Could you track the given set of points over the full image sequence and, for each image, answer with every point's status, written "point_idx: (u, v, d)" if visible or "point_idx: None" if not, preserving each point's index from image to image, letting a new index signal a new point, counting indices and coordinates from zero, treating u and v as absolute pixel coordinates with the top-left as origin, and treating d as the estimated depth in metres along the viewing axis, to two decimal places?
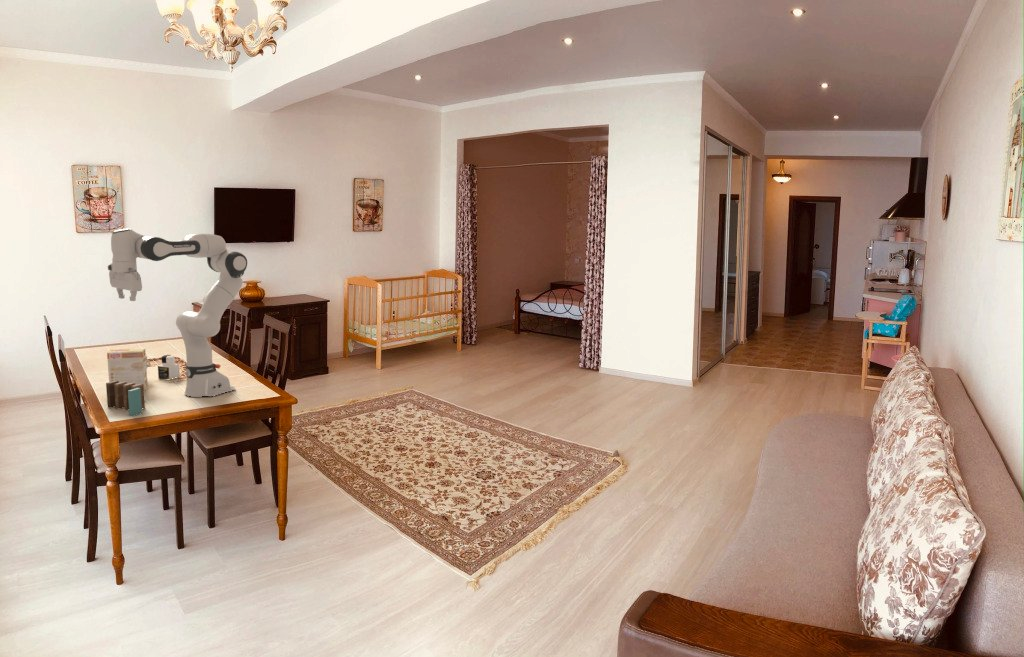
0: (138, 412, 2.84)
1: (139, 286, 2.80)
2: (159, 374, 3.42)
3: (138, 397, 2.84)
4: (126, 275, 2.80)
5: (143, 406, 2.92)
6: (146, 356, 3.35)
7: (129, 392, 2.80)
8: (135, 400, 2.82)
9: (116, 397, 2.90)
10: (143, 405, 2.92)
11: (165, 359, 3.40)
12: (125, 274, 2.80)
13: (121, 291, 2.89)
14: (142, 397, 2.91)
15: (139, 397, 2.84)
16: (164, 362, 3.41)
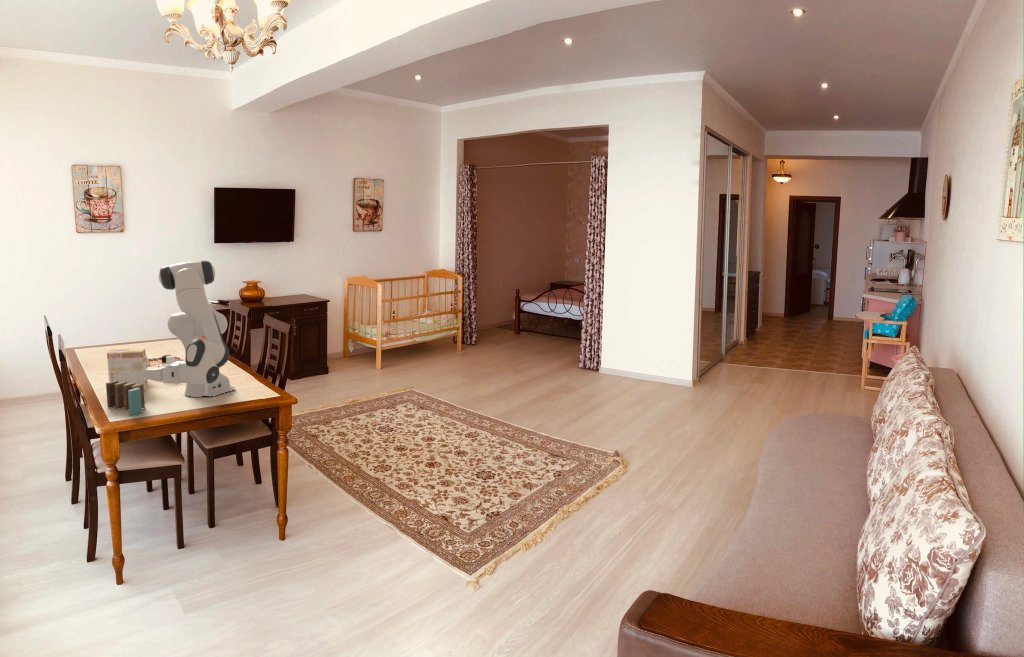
0: (138, 412, 2.84)
1: None
2: None
3: (138, 397, 2.84)
4: None
5: (143, 406, 2.92)
6: (146, 356, 3.35)
7: (129, 392, 2.80)
8: (135, 400, 2.82)
9: (116, 397, 2.90)
10: (143, 405, 2.92)
11: (165, 359, 3.40)
12: None
13: None
14: (142, 397, 2.91)
15: (139, 397, 2.84)
16: (164, 362, 3.41)
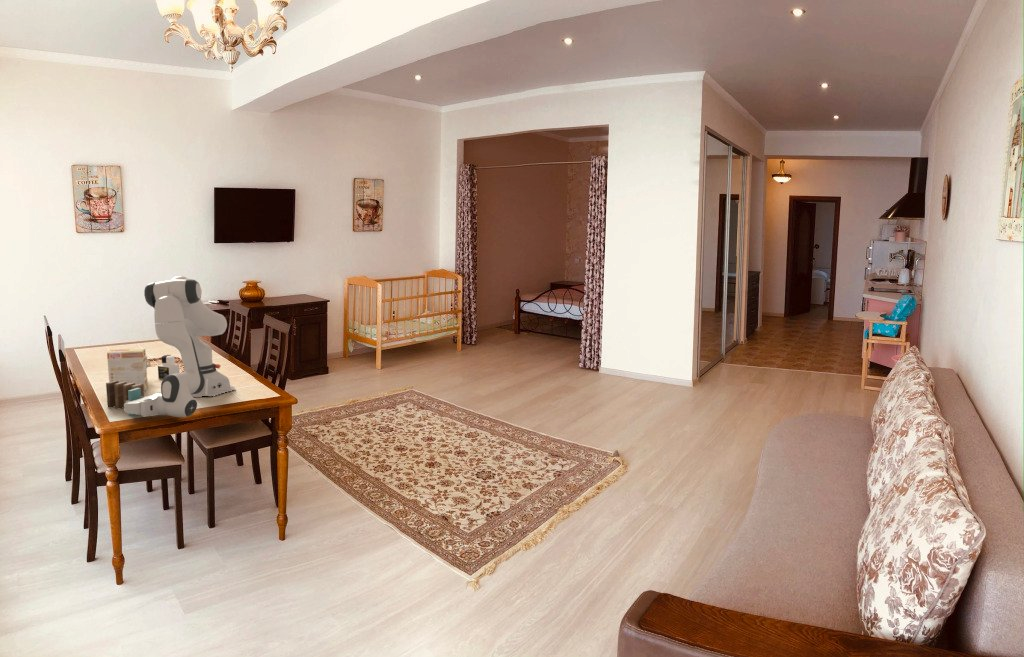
0: None
1: None
2: (159, 374, 3.42)
3: (138, 397, 2.84)
4: None
5: None
6: (146, 356, 3.35)
7: (129, 392, 2.80)
8: None
9: (116, 397, 2.90)
10: None
11: (165, 359, 3.40)
12: None
13: None
14: None
15: (139, 397, 2.84)
16: (164, 362, 3.41)
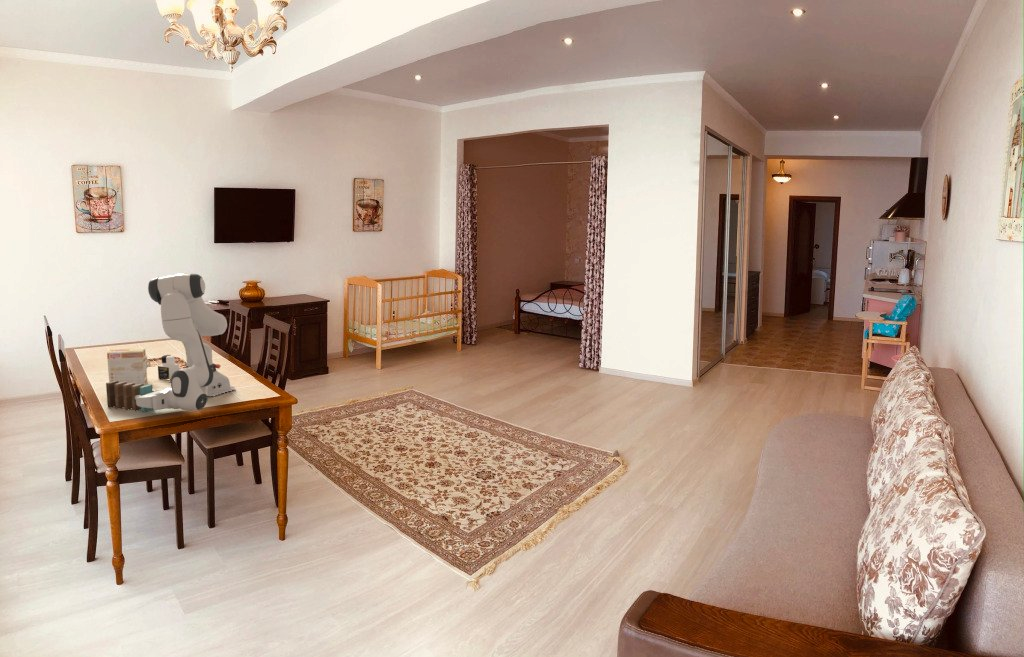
0: (150, 408, 2.90)
1: None
2: (159, 374, 3.42)
3: None
4: None
5: None
6: (146, 356, 3.35)
7: (141, 388, 2.86)
8: None
9: (116, 397, 2.90)
10: None
11: (165, 359, 3.40)
12: None
13: None
14: None
15: None
16: (164, 362, 3.41)
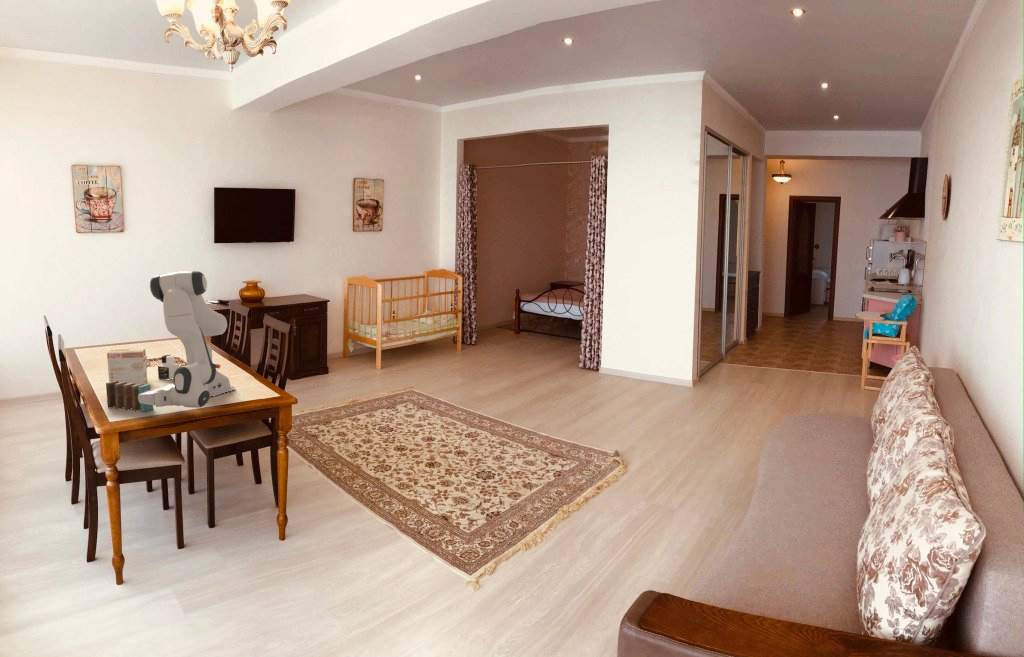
0: (149, 408, 2.90)
1: None
2: (159, 374, 3.42)
3: None
4: None
5: None
6: (146, 356, 3.35)
7: (139, 388, 2.86)
8: None
9: (116, 397, 2.90)
10: None
11: (165, 359, 3.40)
12: None
13: None
14: None
15: None
16: (164, 362, 3.41)
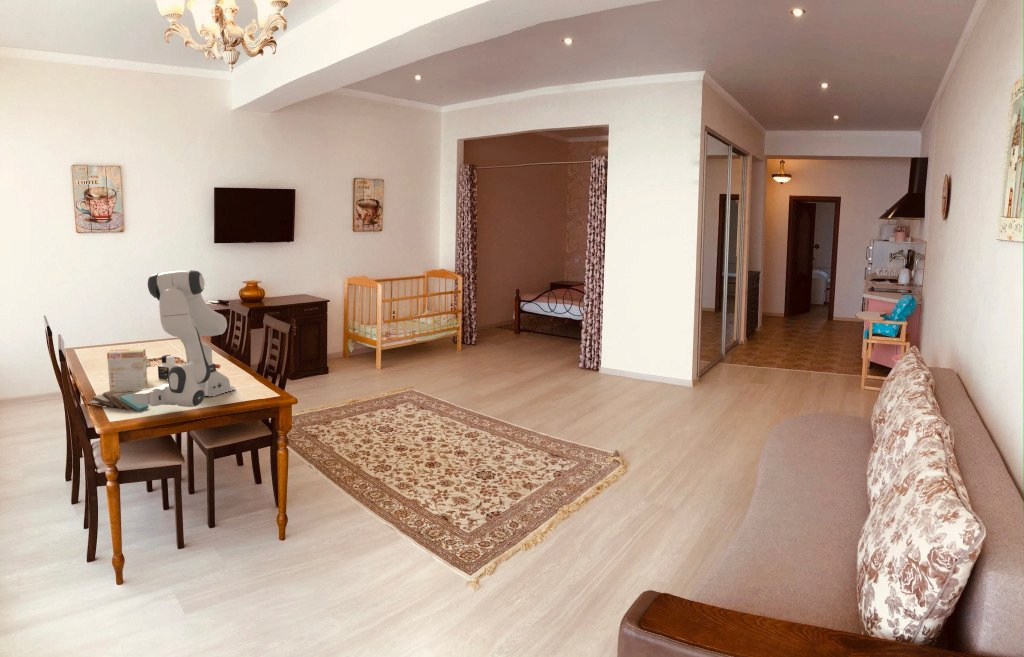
0: (144, 405, 2.91)
1: None
2: (159, 374, 3.42)
3: None
4: None
5: None
6: (146, 356, 3.35)
7: (120, 398, 2.90)
8: (132, 400, 2.91)
9: (103, 402, 2.93)
10: None
11: (165, 359, 3.40)
12: None
13: None
14: None
15: None
16: (164, 362, 3.41)
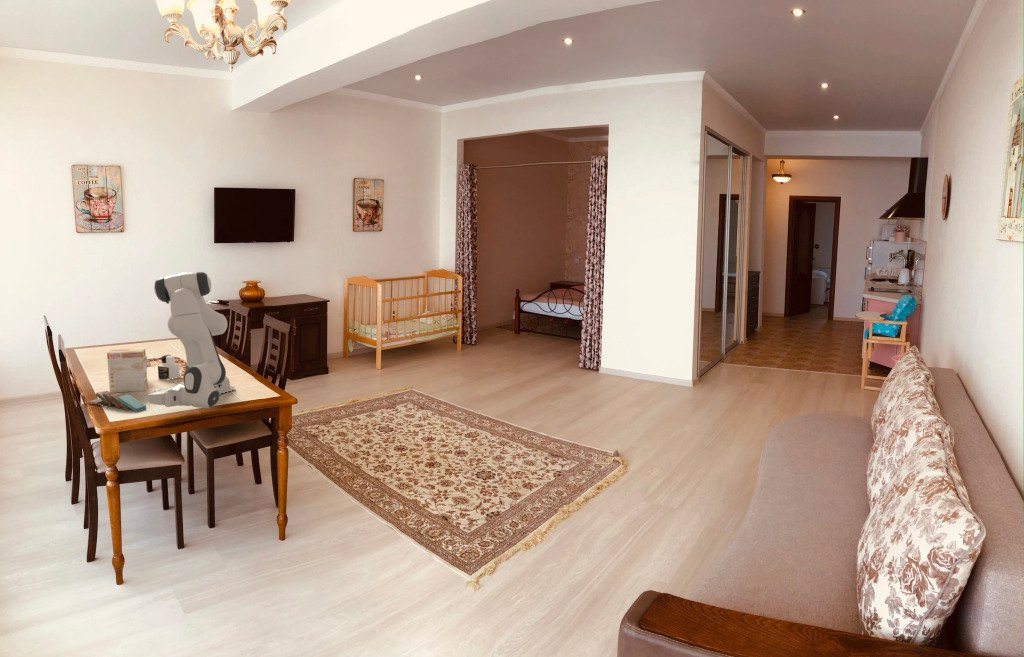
0: (141, 405, 2.90)
1: None
2: (159, 374, 3.42)
3: (131, 398, 2.92)
4: None
5: None
6: (146, 356, 3.35)
7: (119, 399, 2.90)
8: (129, 400, 2.91)
9: (103, 399, 2.95)
10: None
11: (165, 359, 3.40)
12: None
13: None
14: None
15: (133, 398, 2.93)
16: (164, 362, 3.41)
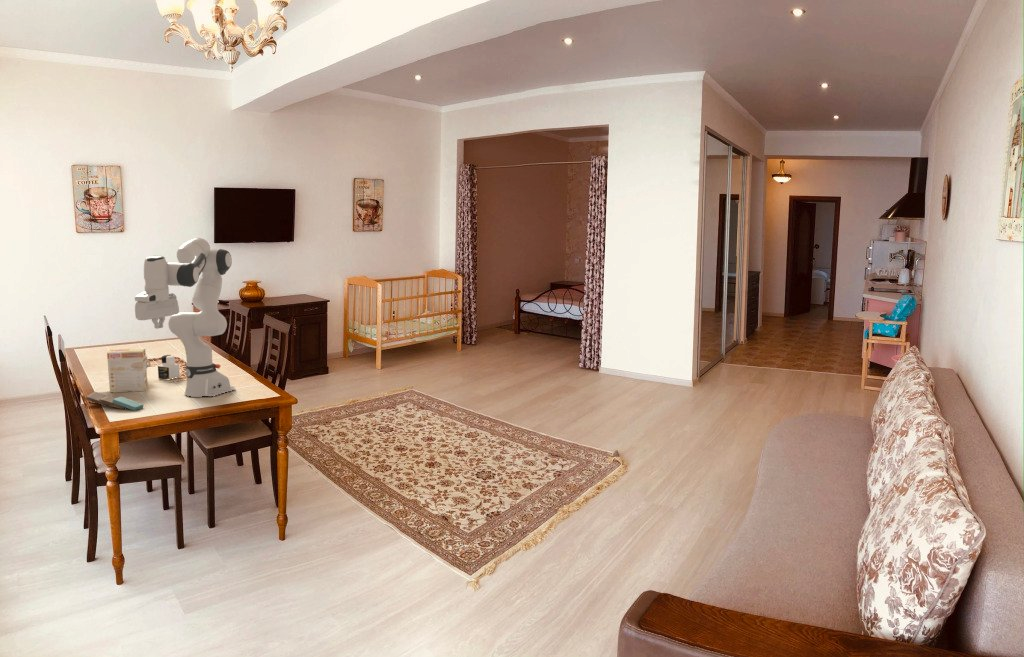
0: (138, 404, 2.91)
1: None
2: (159, 374, 3.42)
3: (126, 399, 2.93)
4: (169, 301, 2.83)
5: None
6: (146, 356, 3.35)
7: (114, 401, 2.90)
8: (125, 401, 2.91)
9: None
10: None
11: (165, 359, 3.40)
12: (167, 300, 2.82)
13: None
14: None
15: (127, 399, 2.93)
16: (164, 362, 3.41)
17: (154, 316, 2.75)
